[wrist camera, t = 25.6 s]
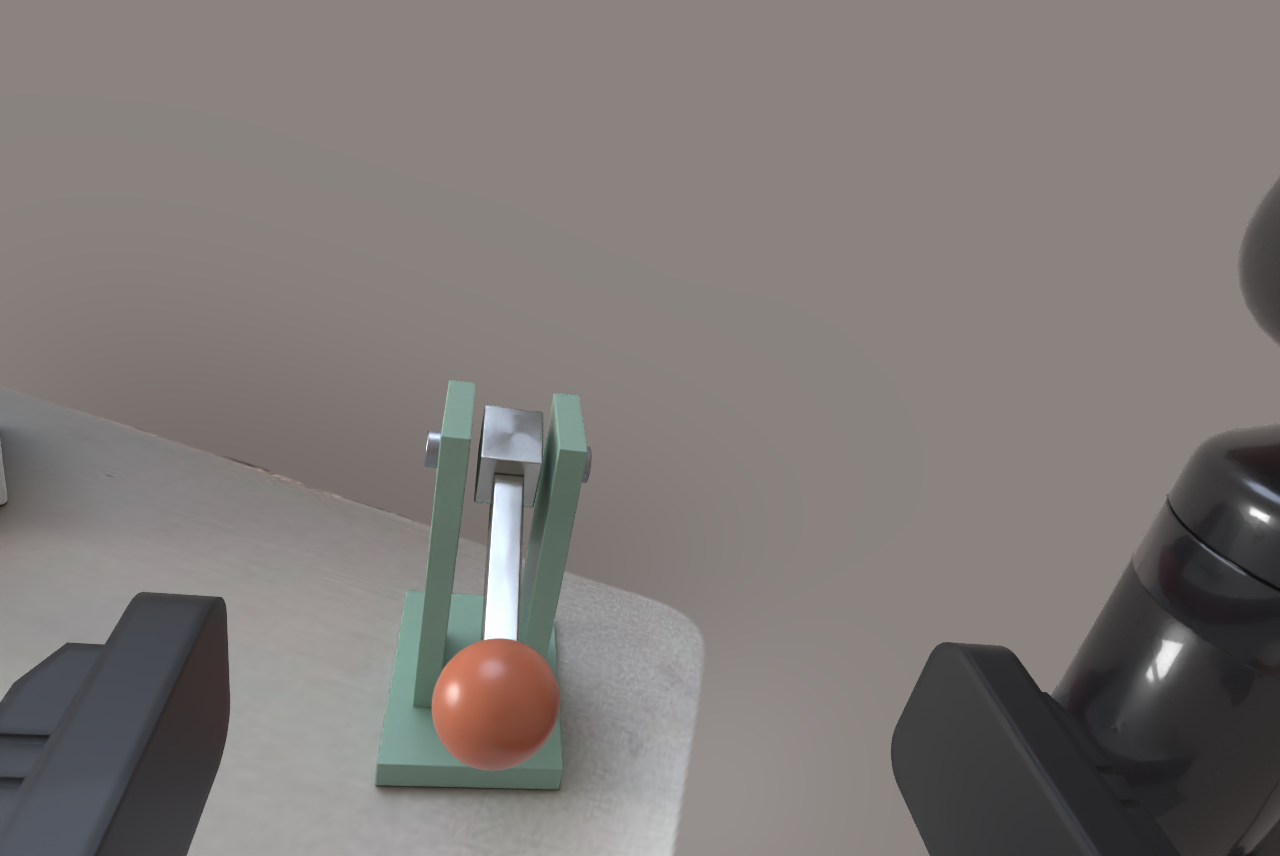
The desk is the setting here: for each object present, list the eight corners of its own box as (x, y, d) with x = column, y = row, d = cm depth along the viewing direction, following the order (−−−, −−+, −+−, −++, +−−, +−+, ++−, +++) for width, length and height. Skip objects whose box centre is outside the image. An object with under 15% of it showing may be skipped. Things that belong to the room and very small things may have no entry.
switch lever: (549, 794, 24) (570, 733, 22) (421, 791, 24) (429, 728, 21) (549, 467, 34) (564, 401, 32) (459, 458, 33) (467, 389, 31)
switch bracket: (558, 790, 33) (625, 499, 27) (374, 785, 32) (400, 477, 25) (549, 618, 42) (598, 368, 36) (404, 609, 40) (429, 346, 34)
